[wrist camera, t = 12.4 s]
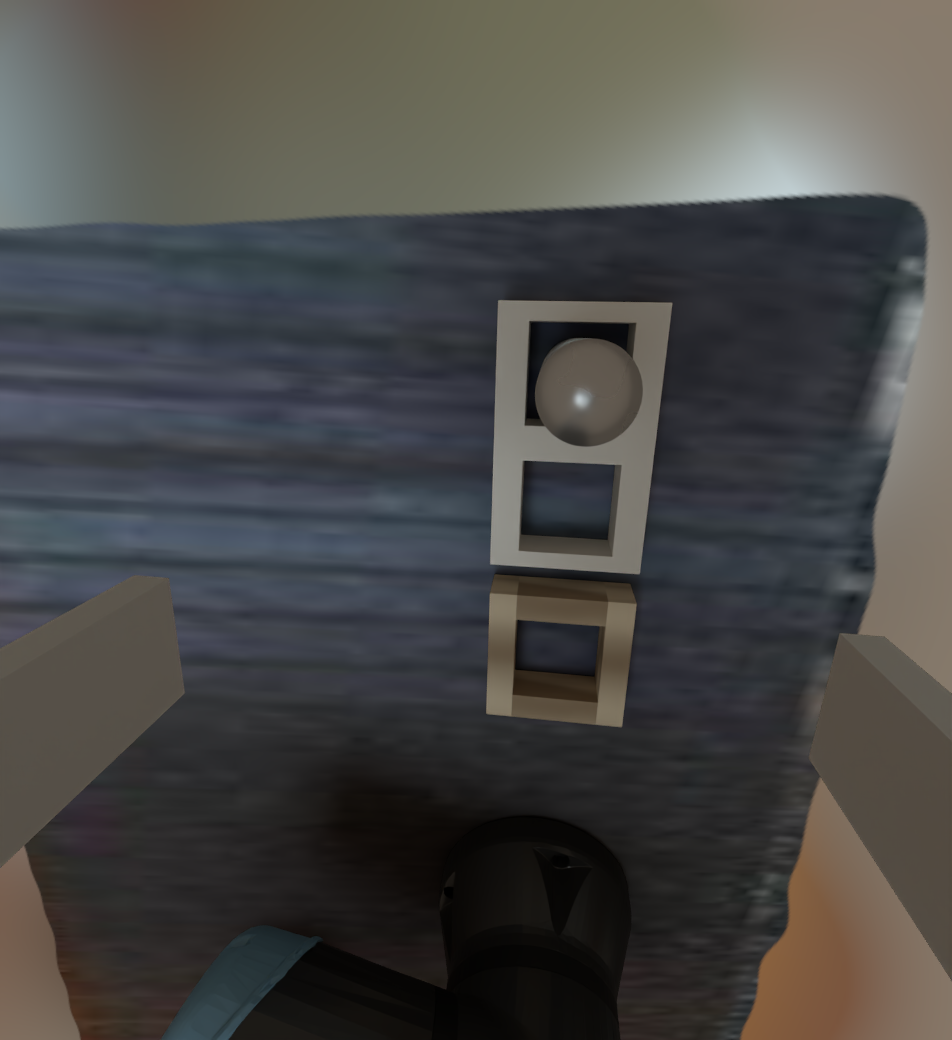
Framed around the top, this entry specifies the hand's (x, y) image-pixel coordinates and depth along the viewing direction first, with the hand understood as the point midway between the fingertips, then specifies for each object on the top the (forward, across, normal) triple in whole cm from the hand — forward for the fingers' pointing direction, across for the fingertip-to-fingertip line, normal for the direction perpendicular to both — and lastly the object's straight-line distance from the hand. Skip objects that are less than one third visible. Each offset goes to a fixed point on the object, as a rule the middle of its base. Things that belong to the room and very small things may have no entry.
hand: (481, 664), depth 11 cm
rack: (+25, -3, -1) cm, 25 cm away
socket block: (+26, -3, +13) cm, 29 cm away
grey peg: (+25, -3, -5) cm, 26 cm away
